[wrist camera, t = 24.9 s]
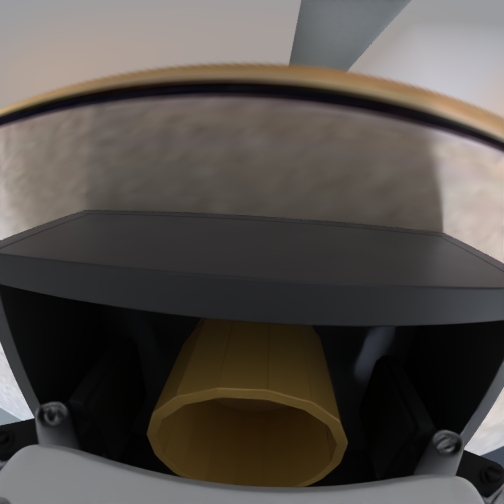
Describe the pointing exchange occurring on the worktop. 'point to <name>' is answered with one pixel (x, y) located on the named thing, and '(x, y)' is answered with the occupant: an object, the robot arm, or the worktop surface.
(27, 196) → the worktop surface
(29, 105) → the worktop surface
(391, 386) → the robot arm
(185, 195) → the worktop surface
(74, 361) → the dark grey storage bin
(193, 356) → the cup
